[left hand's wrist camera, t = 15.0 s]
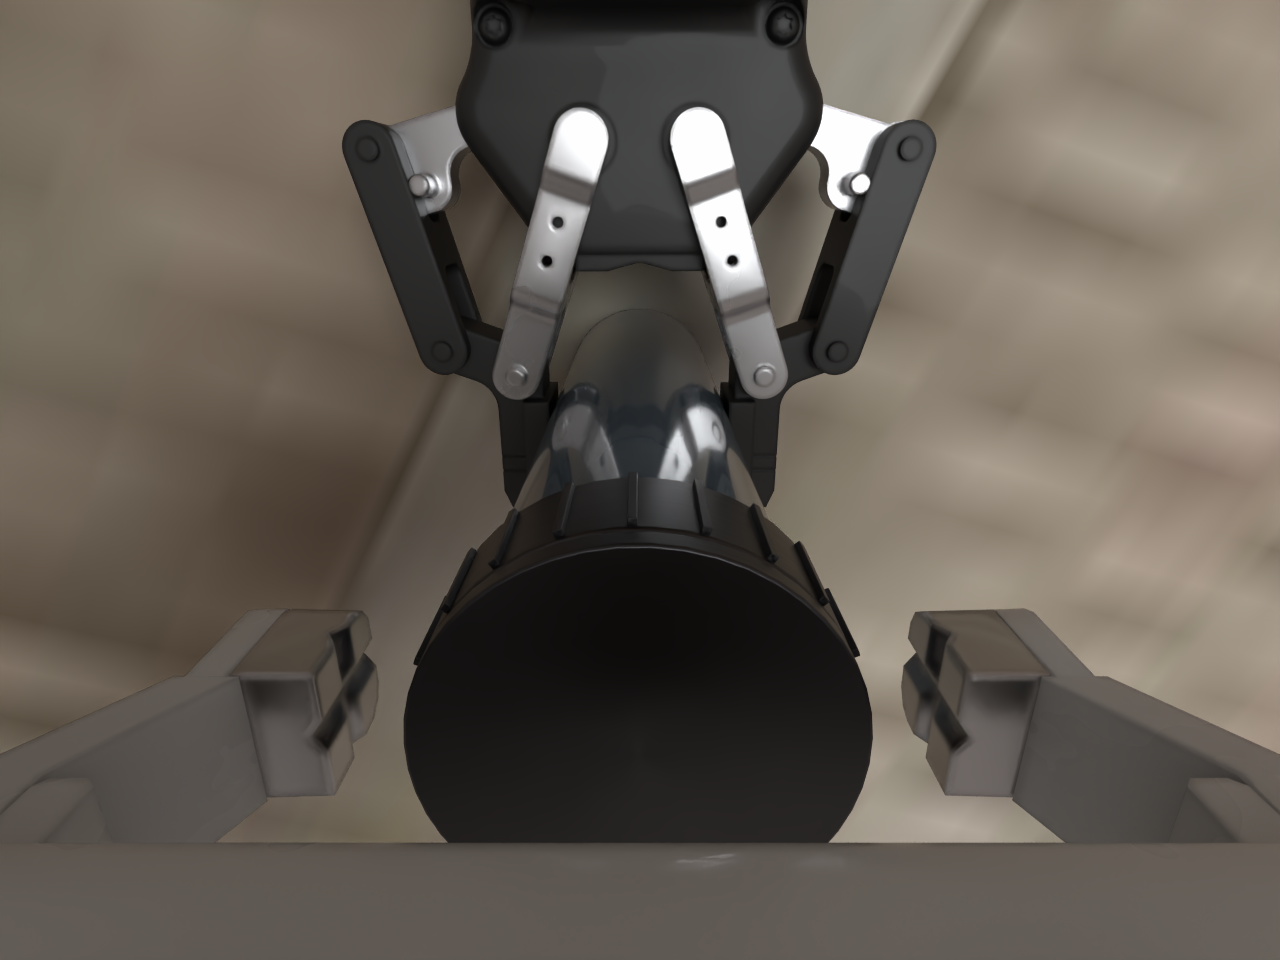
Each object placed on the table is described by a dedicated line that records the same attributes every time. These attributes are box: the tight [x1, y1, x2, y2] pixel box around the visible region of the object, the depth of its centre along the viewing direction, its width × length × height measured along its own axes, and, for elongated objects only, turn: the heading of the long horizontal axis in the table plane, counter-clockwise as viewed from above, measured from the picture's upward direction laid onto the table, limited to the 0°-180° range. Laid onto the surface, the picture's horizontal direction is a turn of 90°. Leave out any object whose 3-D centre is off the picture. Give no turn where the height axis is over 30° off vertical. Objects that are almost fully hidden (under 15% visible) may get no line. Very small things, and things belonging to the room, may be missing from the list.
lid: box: [404, 472, 873, 843], centre depth 9 cm, size 6×6×2 cm
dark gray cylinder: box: [513, 309, 769, 520], centre depth 17 cm, size 5×5×18 cm
